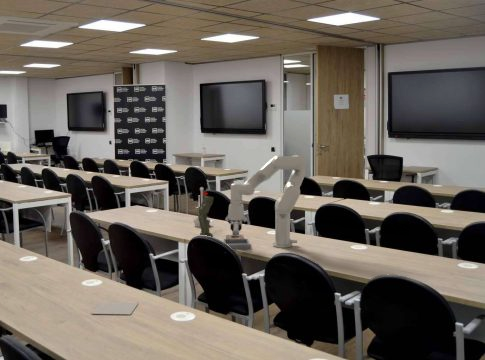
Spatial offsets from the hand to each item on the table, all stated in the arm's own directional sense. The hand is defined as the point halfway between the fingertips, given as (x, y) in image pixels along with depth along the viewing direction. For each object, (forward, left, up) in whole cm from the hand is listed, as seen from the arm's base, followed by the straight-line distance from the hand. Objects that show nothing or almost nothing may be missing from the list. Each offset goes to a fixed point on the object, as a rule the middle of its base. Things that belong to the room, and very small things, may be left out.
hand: (235, 230), depth 337 cm
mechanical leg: (+20, -28, -11) cm, 36 cm away
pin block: (0, -17, -11) cm, 20 cm away
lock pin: (0, 0, -3) cm, 3 cm away
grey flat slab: (+63, +113, -11) cm, 130 cm away
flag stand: (+23, -68, -11) cm, 72 cm away
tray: (0, 0, -11) cm, 11 cm away
